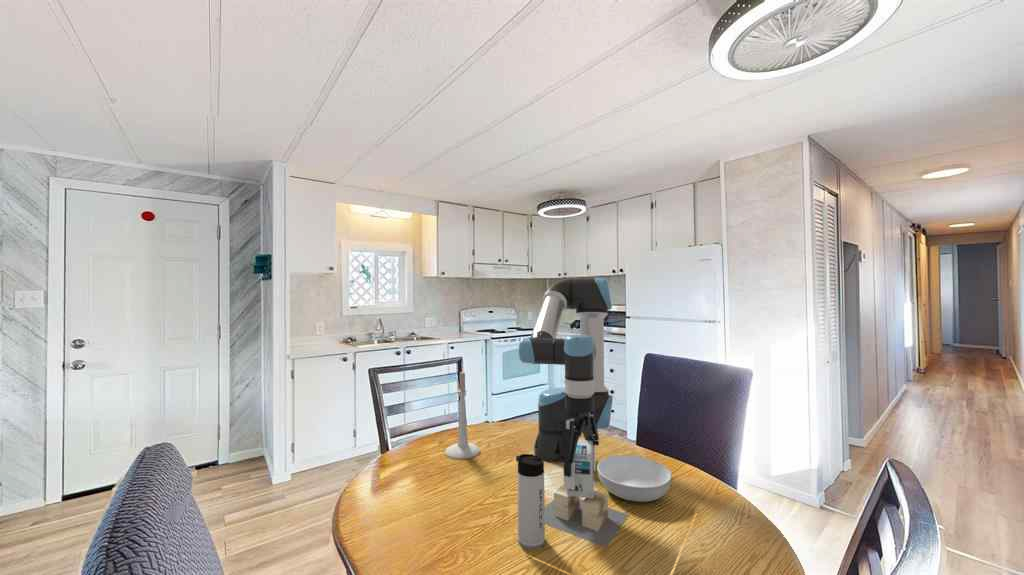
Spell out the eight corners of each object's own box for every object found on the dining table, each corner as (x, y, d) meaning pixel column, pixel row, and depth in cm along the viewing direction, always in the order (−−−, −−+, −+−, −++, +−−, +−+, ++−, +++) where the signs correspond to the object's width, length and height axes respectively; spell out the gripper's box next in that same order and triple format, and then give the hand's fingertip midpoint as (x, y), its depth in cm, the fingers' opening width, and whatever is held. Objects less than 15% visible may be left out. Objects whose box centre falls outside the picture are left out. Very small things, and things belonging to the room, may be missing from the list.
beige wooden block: (566, 503, 107) (566, 481, 107) (579, 508, 105) (579, 485, 105) (554, 515, 102) (553, 492, 102) (567, 520, 99) (567, 496, 99)
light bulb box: (593, 499, 95) (593, 455, 96) (566, 496, 97) (565, 453, 97) (593, 479, 106) (593, 439, 106) (568, 477, 107) (568, 437, 107)
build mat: (561, 494, 113) (561, 493, 113) (629, 516, 102) (629, 514, 102) (531, 520, 100) (531, 518, 100) (606, 548, 89) (606, 547, 89)
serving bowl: (583, 494, 114) (583, 470, 114) (618, 470, 129) (617, 449, 129) (653, 521, 99) (653, 494, 100) (683, 491, 115) (682, 467, 115)
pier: (593, 512, 103) (593, 490, 103) (608, 517, 100) (607, 494, 101) (582, 525, 97) (581, 501, 97) (597, 531, 95) (597, 506, 95)
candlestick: (482, 457, 140) (481, 373, 141) (446, 460, 137) (446, 375, 138) (477, 444, 153) (476, 367, 153) (444, 447, 150) (444, 369, 150)
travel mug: (515, 535, 94) (514, 452, 94) (542, 533, 95) (541, 450, 95) (518, 552, 88) (517, 463, 88) (547, 550, 88) (546, 461, 89)
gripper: (585, 384, 114) (586, 458, 113) (543, 403, 94) (544, 493, 94) (610, 387, 109) (611, 465, 109) (571, 408, 90) (572, 502, 89)
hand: (580, 478), depth 101 cm, fingers closed on light bulb box, 12 cm apart
